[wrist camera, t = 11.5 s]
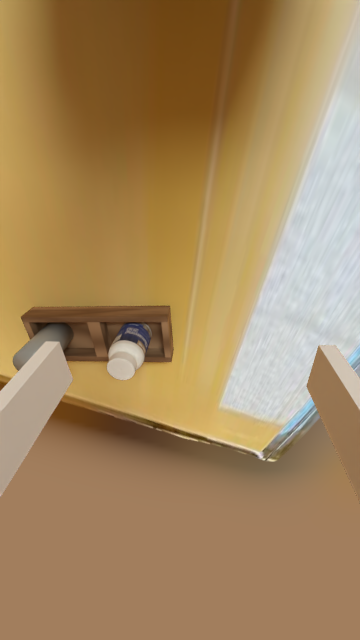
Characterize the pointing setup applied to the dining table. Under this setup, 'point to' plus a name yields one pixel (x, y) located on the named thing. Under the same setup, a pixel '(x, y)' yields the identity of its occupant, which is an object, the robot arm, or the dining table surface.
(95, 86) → the dining table surface
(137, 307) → the rack
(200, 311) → the dining table surface
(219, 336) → the dining table surface
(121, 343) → the pill bottle
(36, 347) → the grey rounded cylinder
